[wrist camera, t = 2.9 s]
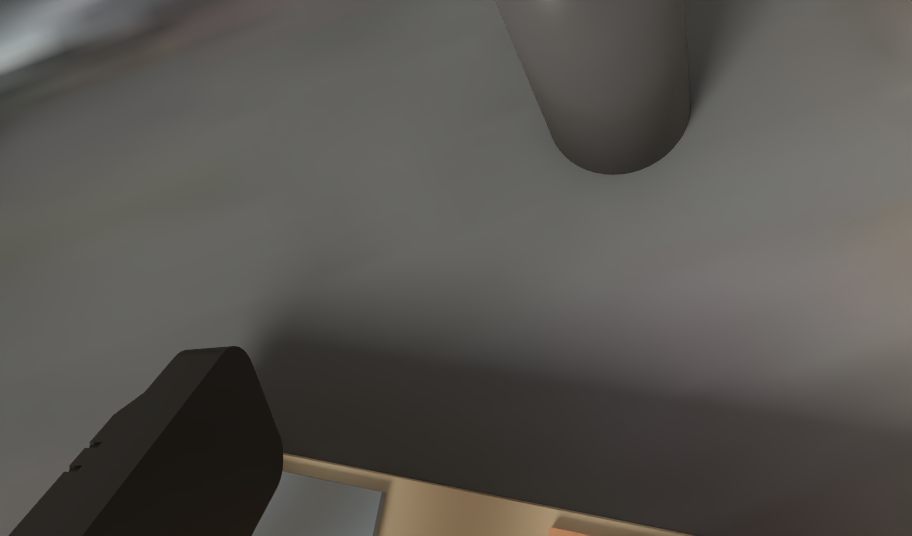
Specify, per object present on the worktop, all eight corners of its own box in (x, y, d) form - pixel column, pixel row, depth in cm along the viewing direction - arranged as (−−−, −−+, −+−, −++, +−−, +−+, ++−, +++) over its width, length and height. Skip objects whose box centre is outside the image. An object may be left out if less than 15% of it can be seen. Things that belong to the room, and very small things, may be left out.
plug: (520, 123, 27) (420, -83, 18) (611, 23, 27) (558, -233, 18) (625, 201, 25) (573, 16, 16) (721, 94, 26) (724, -150, 16)
